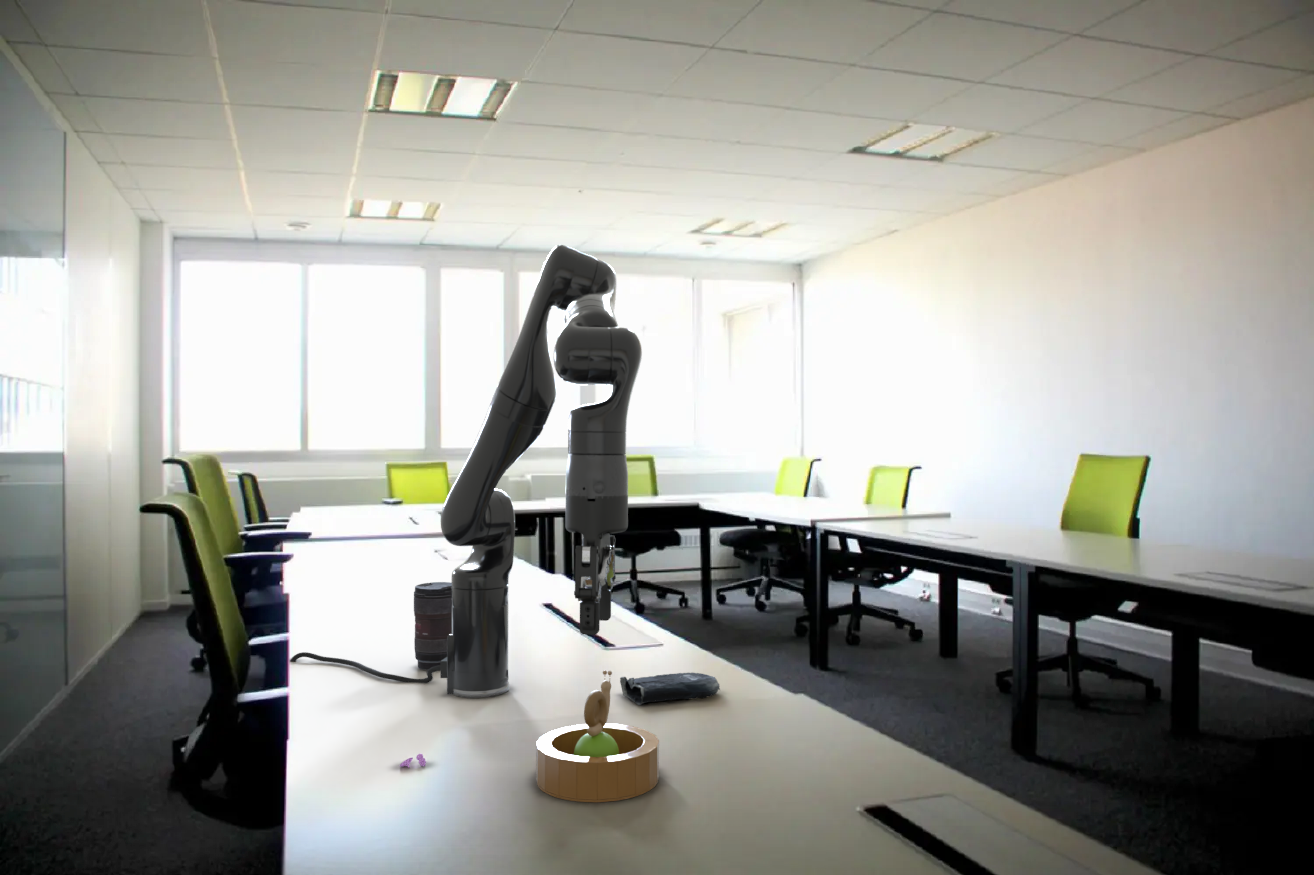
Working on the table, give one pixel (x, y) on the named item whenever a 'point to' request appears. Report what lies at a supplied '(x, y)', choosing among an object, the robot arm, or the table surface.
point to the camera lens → (432, 622)
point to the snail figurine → (597, 725)
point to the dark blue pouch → (669, 687)
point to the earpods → (408, 761)
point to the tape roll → (597, 765)
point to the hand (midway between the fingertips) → (595, 626)
